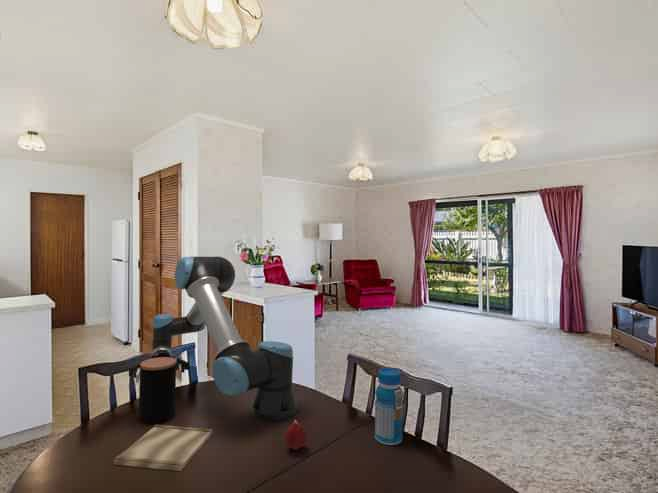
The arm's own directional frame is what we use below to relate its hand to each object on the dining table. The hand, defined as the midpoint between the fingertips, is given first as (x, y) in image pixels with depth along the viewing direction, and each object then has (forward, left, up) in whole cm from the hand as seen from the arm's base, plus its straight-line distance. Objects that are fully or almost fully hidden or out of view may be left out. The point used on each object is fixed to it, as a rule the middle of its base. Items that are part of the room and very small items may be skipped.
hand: (159, 376), depth 126 cm
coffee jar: (-5, +8, -10) cm, 14 cm away
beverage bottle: (-79, +9, -10) cm, 80 cm away
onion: (-53, +19, -10) cm, 57 cm away
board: (-18, +24, -10) cm, 32 cm away
